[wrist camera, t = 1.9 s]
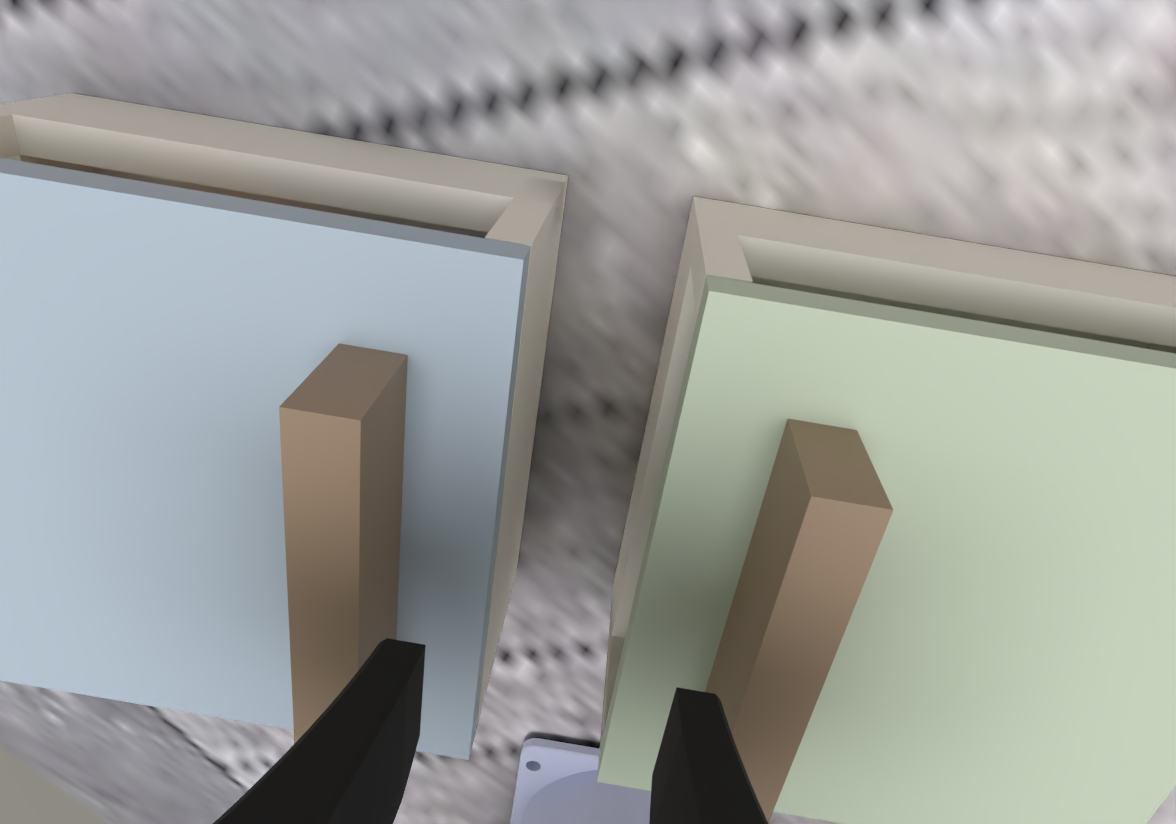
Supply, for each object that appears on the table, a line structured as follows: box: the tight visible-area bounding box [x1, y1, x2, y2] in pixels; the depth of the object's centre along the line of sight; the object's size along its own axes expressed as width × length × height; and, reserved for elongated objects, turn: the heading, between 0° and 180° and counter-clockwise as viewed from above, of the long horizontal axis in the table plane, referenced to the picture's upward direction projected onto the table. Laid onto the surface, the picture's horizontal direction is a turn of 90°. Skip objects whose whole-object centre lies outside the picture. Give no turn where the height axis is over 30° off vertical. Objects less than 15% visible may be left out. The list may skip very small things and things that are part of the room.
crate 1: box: [0, 93, 568, 728], centre depth 19 cm, size 12×12×6 cm
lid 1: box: [0, 158, 531, 760], centre depth 15 cm, size 12×12×3 cm
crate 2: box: [600, 196, 1176, 747], centre depth 19 cm, size 12×12×6 cm
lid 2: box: [597, 275, 1176, 824], centre depth 15 cm, size 12×12×3 cm
